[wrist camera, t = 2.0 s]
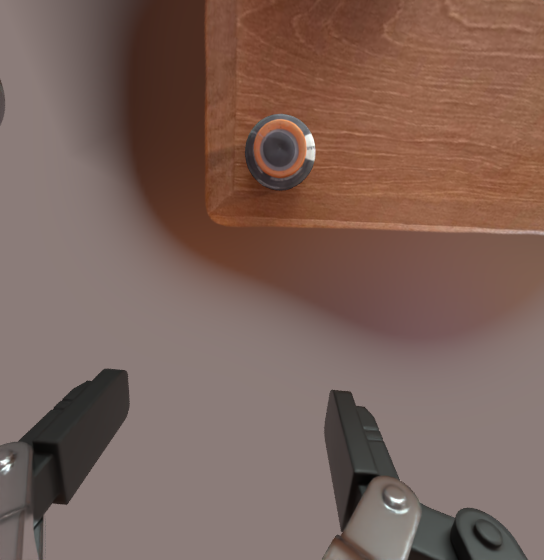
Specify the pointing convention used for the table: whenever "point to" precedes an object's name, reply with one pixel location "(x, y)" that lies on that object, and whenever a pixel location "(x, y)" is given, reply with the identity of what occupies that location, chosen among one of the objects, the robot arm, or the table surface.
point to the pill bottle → (280, 152)
